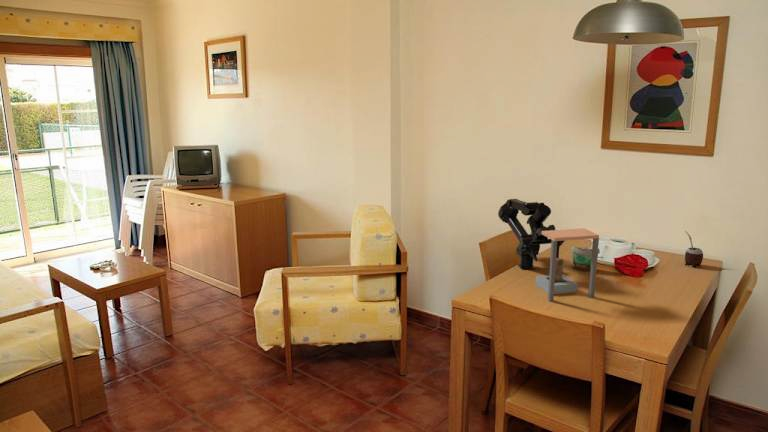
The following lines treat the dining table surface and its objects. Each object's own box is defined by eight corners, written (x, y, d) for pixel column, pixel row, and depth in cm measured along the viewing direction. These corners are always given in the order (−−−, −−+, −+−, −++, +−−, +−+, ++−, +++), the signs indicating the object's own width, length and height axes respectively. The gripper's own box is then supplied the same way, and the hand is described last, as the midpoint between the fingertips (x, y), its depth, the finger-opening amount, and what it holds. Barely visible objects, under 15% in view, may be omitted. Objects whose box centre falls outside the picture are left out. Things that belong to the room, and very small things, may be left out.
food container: (567, 269, 238) (569, 248, 236) (569, 265, 243) (571, 244, 241) (597, 273, 232) (598, 251, 230) (598, 269, 238) (600, 248, 235)
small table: (528, 284, 220) (531, 225, 214) (569, 281, 223) (573, 223, 218) (550, 301, 202) (554, 238, 196) (594, 297, 205) (599, 235, 199)
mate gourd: (702, 269, 236) (706, 236, 233) (682, 266, 240) (686, 234, 236) (700, 264, 243) (704, 232, 240) (681, 262, 246) (685, 231, 243)
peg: (547, 287, 217) (549, 259, 214) (555, 285, 219) (556, 257, 216) (556, 290, 213) (558, 262, 210) (563, 288, 215) (565, 260, 213)
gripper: (521, 220, 222) (531, 253, 214) (564, 216, 224) (575, 249, 216) (514, 233, 231) (523, 265, 223) (555, 229, 233) (566, 261, 225)
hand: (547, 260), depth 222 cm, fingers open, 9 cm apart
